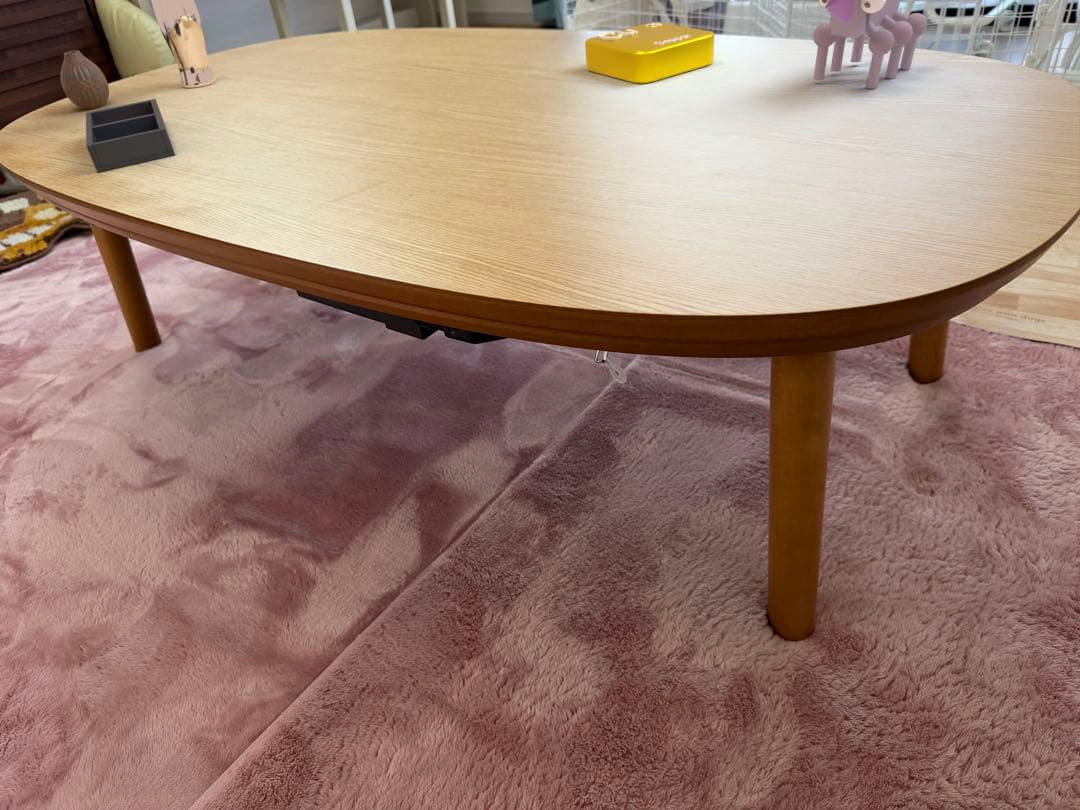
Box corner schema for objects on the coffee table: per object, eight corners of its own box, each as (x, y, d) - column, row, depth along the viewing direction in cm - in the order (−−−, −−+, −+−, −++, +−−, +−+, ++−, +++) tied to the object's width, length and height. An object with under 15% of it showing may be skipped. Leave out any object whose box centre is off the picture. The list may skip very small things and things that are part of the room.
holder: (97, 172, 108) (86, 146, 106) (95, 136, 123) (85, 112, 120) (175, 155, 111) (165, 128, 109) (164, 122, 126) (155, 98, 123)
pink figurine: (852, 109, 99) (867, -14, 90) (774, 98, 105) (783, -17, 97) (924, 68, 109) (944, -45, 101) (850, 60, 116) (863, -47, 108)
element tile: (641, 85, 116) (641, 50, 113) (581, 69, 126) (579, 36, 124) (719, 62, 122) (720, 28, 119) (655, 49, 132) (655, 17, 129)
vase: (118, 104, 138) (97, 50, 132) (75, 115, 135) (52, 59, 130) (110, 97, 142) (89, 45, 137) (69, 107, 140) (46, 53, 134)
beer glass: (178, 83, 146) (147, -8, 138) (217, 75, 148) (189, -15, 139) (181, 91, 141) (148, -3, 132) (221, 83, 143) (192, -11, 134)
